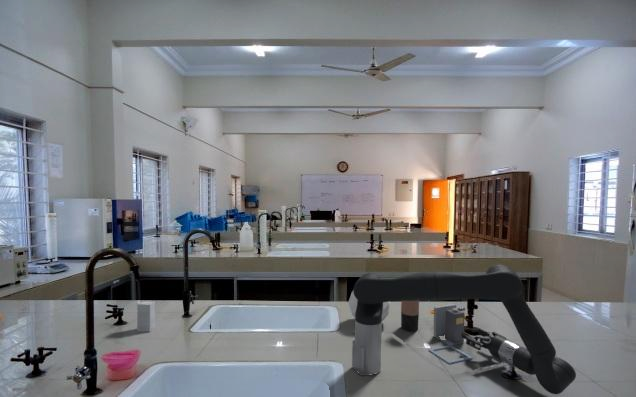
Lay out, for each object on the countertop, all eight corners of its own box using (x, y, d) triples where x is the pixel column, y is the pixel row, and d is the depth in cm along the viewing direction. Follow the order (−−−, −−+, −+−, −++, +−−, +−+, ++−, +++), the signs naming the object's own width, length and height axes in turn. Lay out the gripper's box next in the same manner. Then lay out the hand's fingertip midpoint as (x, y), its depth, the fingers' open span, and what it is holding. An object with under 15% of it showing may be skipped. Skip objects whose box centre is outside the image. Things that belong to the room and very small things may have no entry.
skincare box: (155, 328, 151) (155, 301, 151) (149, 332, 147) (150, 304, 147) (142, 327, 152) (142, 301, 152) (136, 331, 148) (136, 304, 147)
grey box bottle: (454, 343, 137) (455, 311, 136) (445, 338, 142) (446, 307, 141) (463, 341, 139) (464, 310, 138) (454, 336, 143) (455, 306, 143)
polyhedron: (375, 341, 156) (380, 317, 144) (339, 317, 166) (341, 293, 153) (394, 312, 168) (400, 288, 156) (360, 292, 178) (363, 267, 165)
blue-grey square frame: (449, 368, 121) (449, 362, 120) (428, 354, 131) (428, 349, 131) (472, 362, 125) (472, 357, 125) (450, 349, 135) (450, 344, 135)
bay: (449, 349, 135) (450, 314, 135) (433, 339, 144) (434, 306, 143) (470, 344, 139) (471, 311, 139) (453, 335, 148) (454, 303, 148)
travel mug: (414, 336, 146) (415, 290, 146) (397, 332, 151) (398, 287, 150) (420, 331, 152) (421, 287, 152) (404, 326, 157) (405, 283, 157)
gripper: (522, 337, 120) (484, 320, 135) (492, 343, 115) (456, 325, 130) (521, 358, 120) (483, 339, 135) (492, 365, 115) (456, 344, 130)
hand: (470, 332), depth 132 cm, fingers open, 8 cm apart
